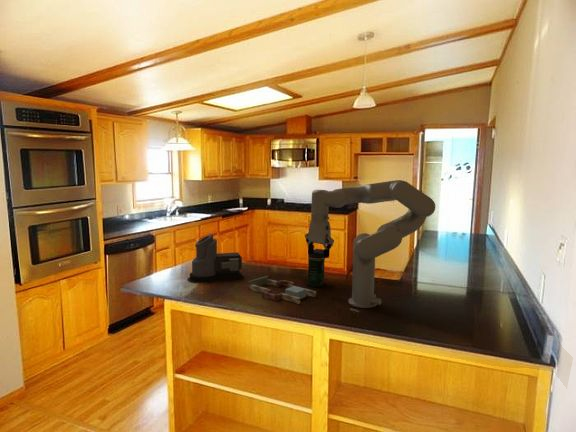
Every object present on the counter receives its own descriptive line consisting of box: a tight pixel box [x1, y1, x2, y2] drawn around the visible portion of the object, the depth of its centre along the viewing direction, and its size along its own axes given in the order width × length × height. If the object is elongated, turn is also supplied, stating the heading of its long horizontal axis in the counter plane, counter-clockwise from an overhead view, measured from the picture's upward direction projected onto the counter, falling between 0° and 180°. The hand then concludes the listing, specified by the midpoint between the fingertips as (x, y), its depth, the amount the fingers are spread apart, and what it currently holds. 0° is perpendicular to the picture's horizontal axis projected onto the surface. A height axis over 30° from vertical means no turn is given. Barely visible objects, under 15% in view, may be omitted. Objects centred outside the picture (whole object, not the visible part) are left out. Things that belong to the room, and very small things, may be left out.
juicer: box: [186, 233, 245, 284], centre depth 208 cm, size 30×16×24 cm, turn 107°
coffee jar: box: [307, 248, 326, 288], centre depth 198 cm, size 10×8×19 cm
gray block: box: [284, 285, 307, 300], centre depth 180 cm, size 7×7×4 cm
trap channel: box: [247, 275, 317, 305], centre depth 186 cm, size 32×21×4 cm
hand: (318, 255), depth 172 cm, fingers open, 9 cm apart
